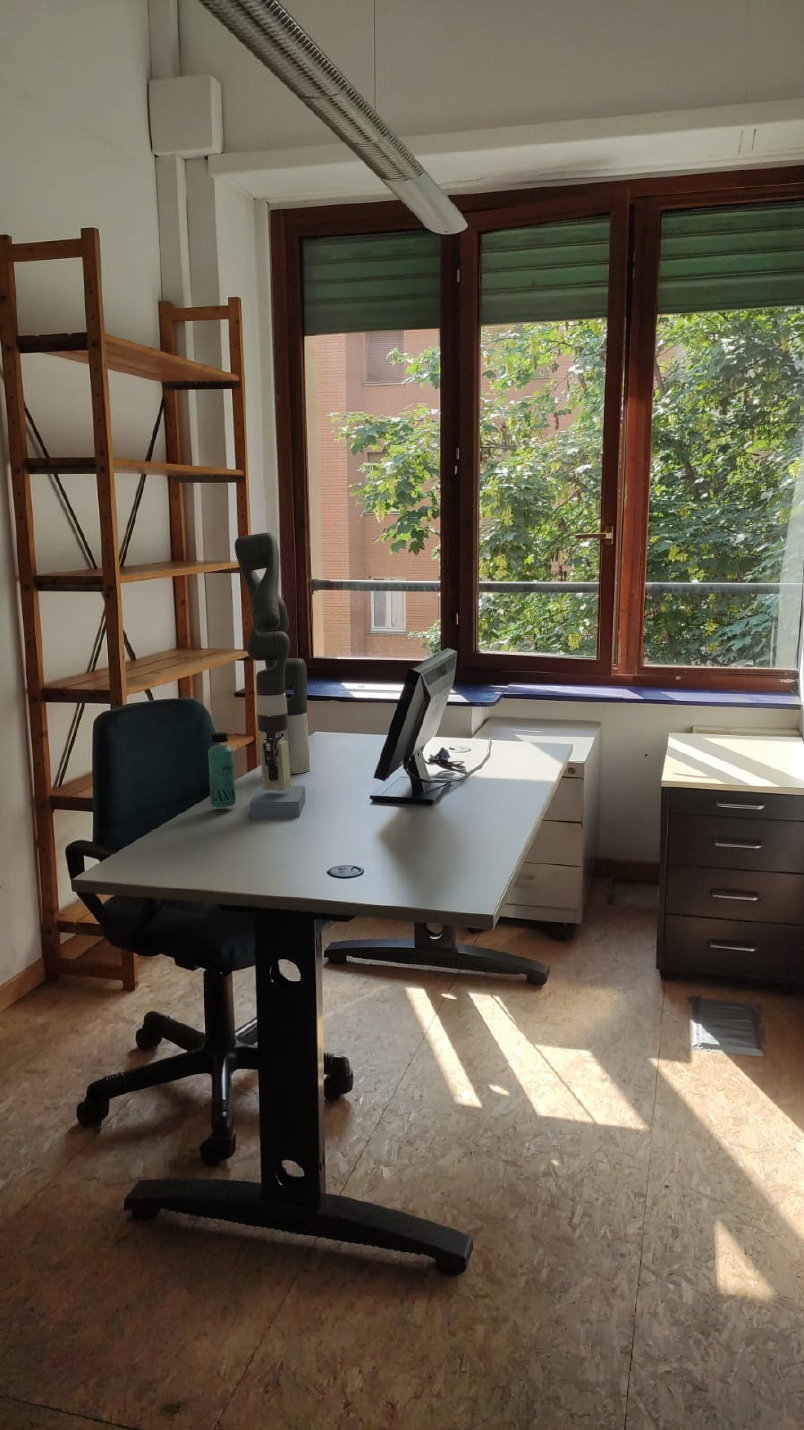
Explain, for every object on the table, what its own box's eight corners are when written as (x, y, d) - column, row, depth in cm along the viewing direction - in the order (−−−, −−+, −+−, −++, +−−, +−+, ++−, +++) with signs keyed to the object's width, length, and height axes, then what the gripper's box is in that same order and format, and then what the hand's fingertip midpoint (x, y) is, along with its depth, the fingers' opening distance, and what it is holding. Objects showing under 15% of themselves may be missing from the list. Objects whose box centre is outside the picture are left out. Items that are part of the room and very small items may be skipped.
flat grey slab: (259, 803, 276) (258, 786, 275) (305, 802, 276) (304, 785, 275) (250, 820, 260) (249, 802, 260) (299, 819, 260) (298, 801, 259)
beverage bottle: (205, 811, 268) (200, 734, 264) (221, 805, 274) (216, 729, 270) (226, 814, 265) (221, 736, 261) (242, 807, 271) (237, 731, 267)
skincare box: (291, 787, 268) (289, 740, 266) (284, 791, 264) (281, 743, 262) (269, 786, 270) (266, 739, 268) (261, 790, 266) (258, 743, 264)
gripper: (263, 706, 271) (267, 771, 274) (250, 717, 257) (254, 784, 260) (292, 706, 270) (295, 771, 273) (281, 716, 256) (284, 784, 259)
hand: (275, 777), depth 267 cm, fingers closed on skincare box, 5 cm apart
